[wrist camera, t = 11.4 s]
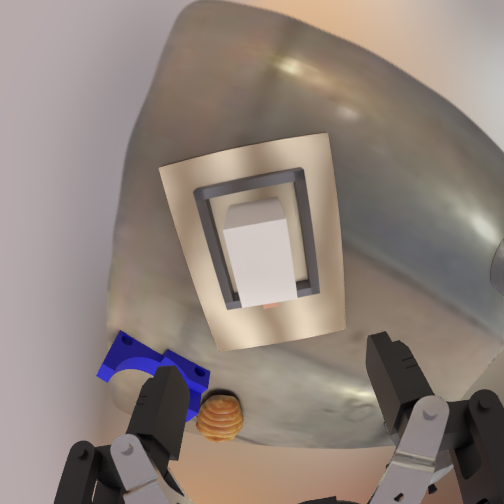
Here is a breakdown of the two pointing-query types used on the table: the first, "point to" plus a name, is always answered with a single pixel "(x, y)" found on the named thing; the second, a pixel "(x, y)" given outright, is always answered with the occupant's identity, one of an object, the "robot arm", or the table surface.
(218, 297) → the board
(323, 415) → the table surface
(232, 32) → the table surface
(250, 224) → the keyed plug
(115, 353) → the cable clip
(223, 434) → the pastry
